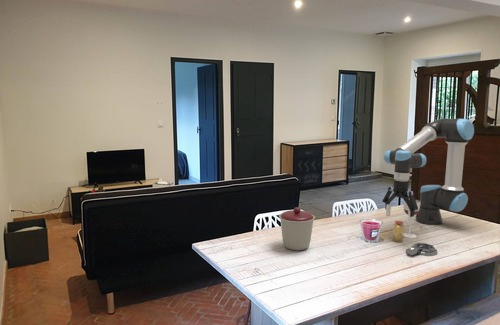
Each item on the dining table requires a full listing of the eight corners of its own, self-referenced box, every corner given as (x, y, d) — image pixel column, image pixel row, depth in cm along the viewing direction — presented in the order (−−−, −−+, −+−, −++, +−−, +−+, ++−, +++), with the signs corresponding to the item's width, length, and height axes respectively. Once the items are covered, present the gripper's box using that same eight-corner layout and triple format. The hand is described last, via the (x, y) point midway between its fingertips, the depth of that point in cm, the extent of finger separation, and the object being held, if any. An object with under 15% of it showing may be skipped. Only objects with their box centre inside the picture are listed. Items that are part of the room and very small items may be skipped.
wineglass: (416, 239, 201) (418, 203, 198) (399, 235, 206) (401, 201, 203) (419, 235, 208) (422, 200, 205) (403, 231, 213) (405, 198, 210)
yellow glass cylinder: (396, 238, 202) (397, 219, 200) (404, 241, 198) (405, 222, 196) (390, 240, 199) (391, 221, 198) (398, 243, 195) (399, 223, 194)
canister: (313, 255, 180) (314, 213, 177) (276, 252, 184) (277, 211, 180) (314, 241, 197) (315, 203, 194) (281, 239, 201) (281, 202, 198)
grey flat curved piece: (420, 244, 193) (420, 237, 192) (442, 252, 183) (442, 245, 182) (398, 251, 184) (398, 244, 183) (419, 260, 173) (420, 252, 173)
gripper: (377, 176, 202) (375, 214, 205) (418, 184, 181) (415, 226, 184) (386, 175, 206) (384, 212, 209) (427, 183, 185) (424, 224, 188)
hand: (398, 219), depth 197 cm, fingers open, 13 cm apart
